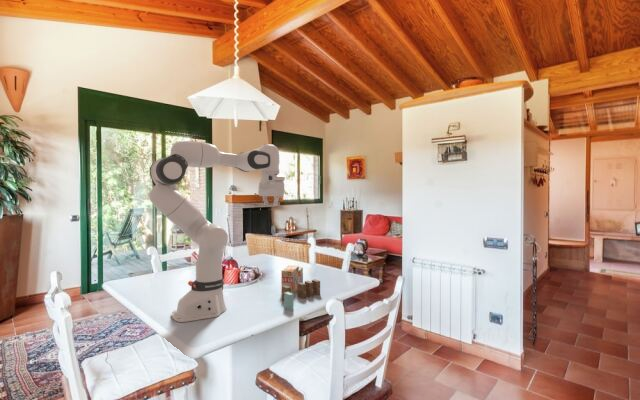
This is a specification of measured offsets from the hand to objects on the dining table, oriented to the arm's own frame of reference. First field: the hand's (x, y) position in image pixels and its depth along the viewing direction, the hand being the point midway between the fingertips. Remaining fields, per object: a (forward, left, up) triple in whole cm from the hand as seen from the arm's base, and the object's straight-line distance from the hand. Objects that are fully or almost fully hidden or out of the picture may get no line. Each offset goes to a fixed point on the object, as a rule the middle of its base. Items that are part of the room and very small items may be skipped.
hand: (270, 205), depth 162 cm
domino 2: (+12, -9, -46) cm, 49 cm away
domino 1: (+3, -9, -46) cm, 47 cm away
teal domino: (-1, -19, -46) cm, 50 cm away
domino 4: (+21, -9, -46) cm, 52 cm away
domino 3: (+17, -9, -46) cm, 50 cm away
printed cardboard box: (+17, +7, -47) cm, 50 cm away
